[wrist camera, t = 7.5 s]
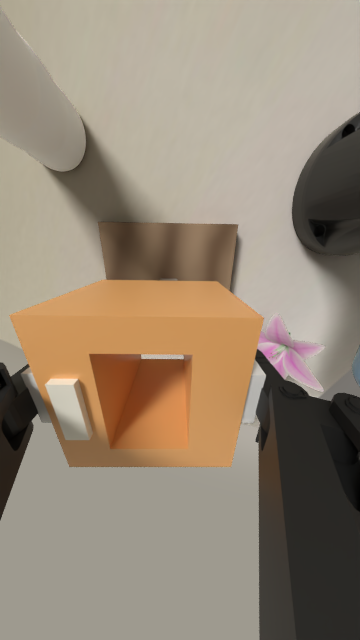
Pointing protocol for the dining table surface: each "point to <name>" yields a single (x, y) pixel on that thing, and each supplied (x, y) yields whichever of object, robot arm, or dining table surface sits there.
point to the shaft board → (168, 251)
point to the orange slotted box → (143, 371)
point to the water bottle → (36, 106)
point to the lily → (289, 353)
